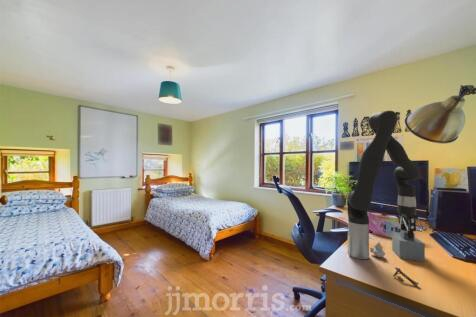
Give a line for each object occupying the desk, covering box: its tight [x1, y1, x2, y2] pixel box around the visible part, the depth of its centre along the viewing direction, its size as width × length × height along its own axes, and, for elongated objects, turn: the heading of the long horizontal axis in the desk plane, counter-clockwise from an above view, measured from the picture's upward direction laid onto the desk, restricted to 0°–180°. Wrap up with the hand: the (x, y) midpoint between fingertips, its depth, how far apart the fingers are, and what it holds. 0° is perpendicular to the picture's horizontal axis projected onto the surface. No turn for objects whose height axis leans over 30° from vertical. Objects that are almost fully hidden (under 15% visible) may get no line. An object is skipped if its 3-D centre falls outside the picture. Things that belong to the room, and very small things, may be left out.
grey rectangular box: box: [391, 230, 426, 262], centre depth 107 cm, size 10×10×12 cm
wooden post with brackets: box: [392, 266, 419, 288], centre depth 83 cm, size 2×8×4 cm, turn 29°
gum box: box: [367, 211, 408, 239], centre depth 137 cm, size 24×8×14 cm, turn 42°
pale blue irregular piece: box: [369, 241, 386, 258], centre depth 106 cm, size 5×7×8 cm
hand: (406, 235), depth 107 cm, fingers open, 8 cm apart
